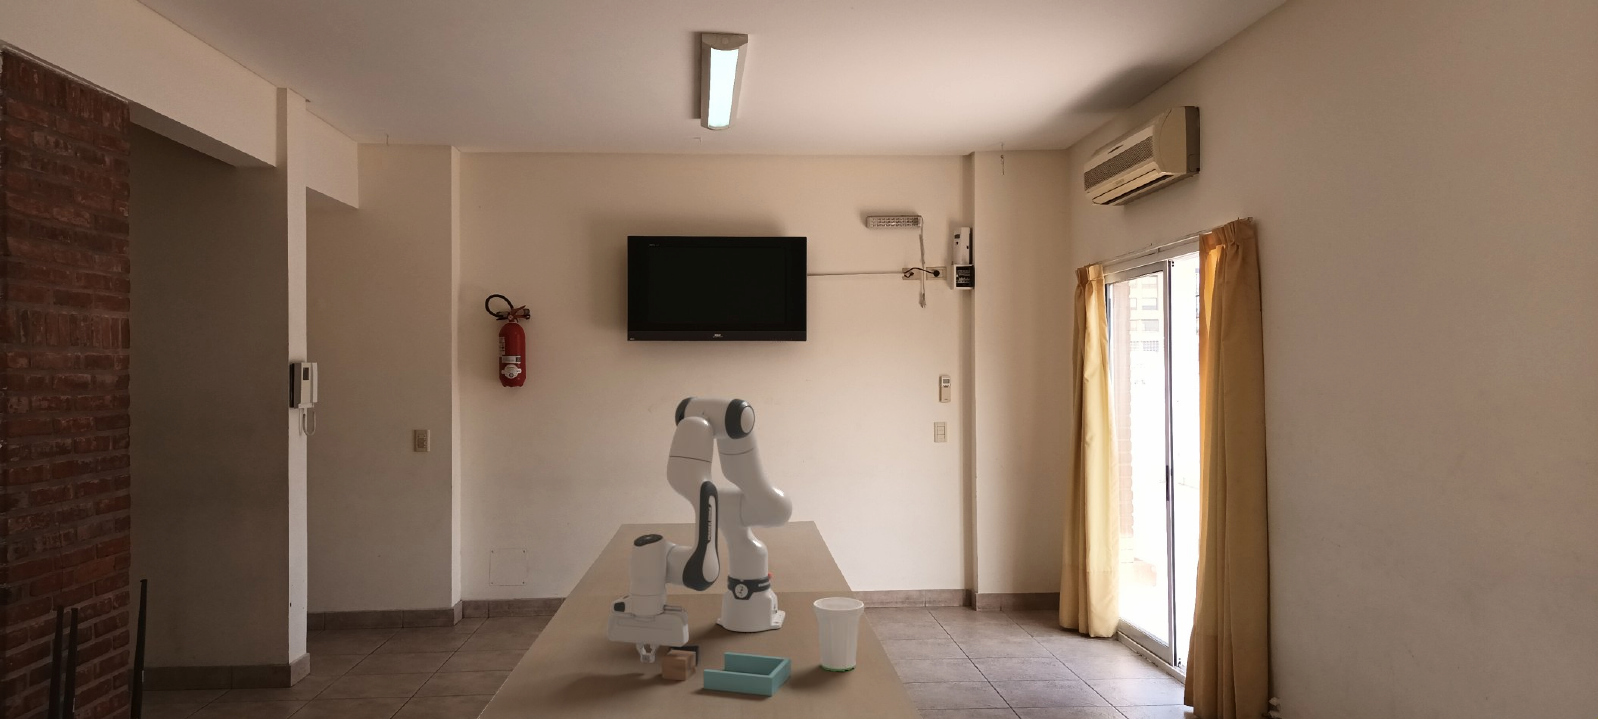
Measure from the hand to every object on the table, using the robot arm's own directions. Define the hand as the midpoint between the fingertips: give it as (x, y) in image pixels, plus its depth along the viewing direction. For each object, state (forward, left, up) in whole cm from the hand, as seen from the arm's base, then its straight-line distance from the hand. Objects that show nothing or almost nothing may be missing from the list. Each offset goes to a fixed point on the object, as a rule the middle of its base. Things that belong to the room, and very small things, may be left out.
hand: (647, 661), depth 221 cm
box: (0, +25, -2) cm, 25 cm away
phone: (-12, +4, -3) cm, 13 cm away
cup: (-17, +43, -3) cm, 46 cm away
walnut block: (0, +8, -3) cm, 9 cm away
